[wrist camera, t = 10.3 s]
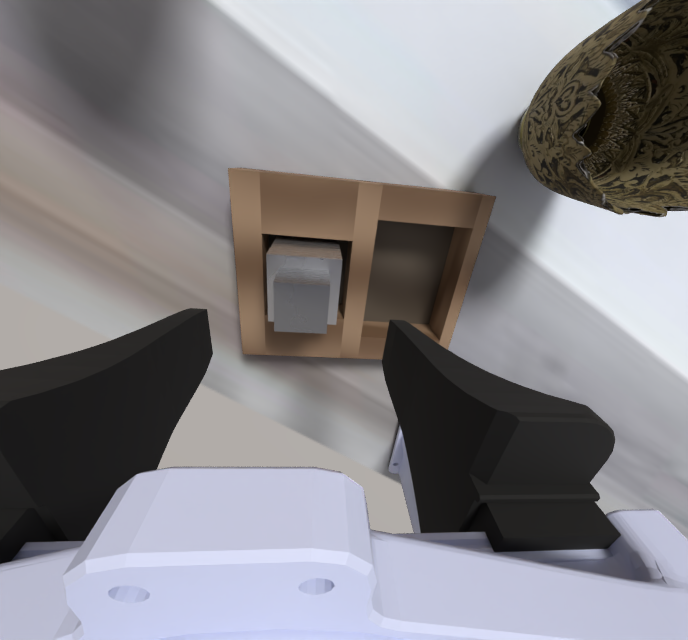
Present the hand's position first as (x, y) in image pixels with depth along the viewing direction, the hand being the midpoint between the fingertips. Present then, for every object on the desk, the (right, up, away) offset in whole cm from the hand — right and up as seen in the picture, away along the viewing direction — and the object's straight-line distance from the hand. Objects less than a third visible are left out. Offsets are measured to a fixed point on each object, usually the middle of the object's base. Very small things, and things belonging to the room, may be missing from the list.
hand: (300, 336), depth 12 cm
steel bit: (-1, +4, +7) cm, 9 cm away
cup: (+13, +12, +5) cm, 18 cm away
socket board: (+2, +4, +8) cm, 9 cm away
